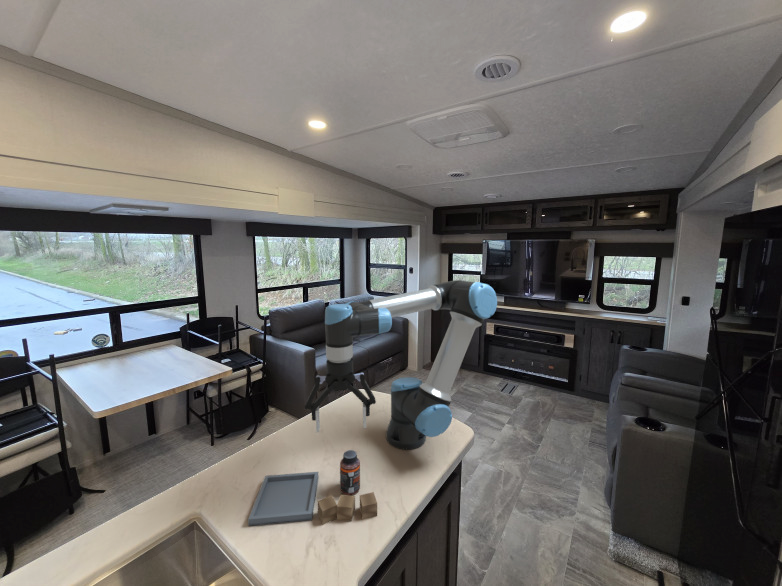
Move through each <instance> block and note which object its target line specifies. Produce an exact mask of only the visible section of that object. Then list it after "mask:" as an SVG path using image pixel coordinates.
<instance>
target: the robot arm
mask: <svg viewBox="0 0 782 586" xmlns="http://www.w3.org/2000/svg"><path fill="white" fill-rule="evenodd" d="M497 306H498V298H497V293H496V291H495V290H494V288H493V287H492V286H490V284H488V283H483V282H479V281H477V282H476V281H467V280H460V279H459V280H457V279H455V280H450V281H445V282H441V283H437V284H431V285H429V286H428V287H427V288H425V289H420V290H416V291H415V290H414V291H408V292H405V293H399V294H394V295H389V296H385V297H379V298H374V299H369V300H364V301H351V300H350V301H347V302H346V303H334V304H330V305H328V306H326V308H325V310H324V327H325V329H324V330H325V356H326V375H320V373H319V374H316V375H315V382H314V385H313V387H312V389H311V391H310V392H309V393H310V394H309V395H308V398H307V399H306V402H305V404H304V409H305V410H311V421H313V422H314V421H315V433H320V428H321V427H320V426H321V425H320V405H321V403H323V401H324V400H325V399H326V397H327V396H328V395H330V394H331V392H332V391H334V392H339V391H347V390H349V391H350V392H351V393H353V395H354V396H355V397H356V398H357V399H358V400H360V401H361V403H362V425H363V426H362V427H363V429H367V417H370V414H371V412H370V410H371V405H375V404H377V403H376V402H377V401H376V400H377V399H376V397H375V395H374V394H373V392H372V390H371V388H370V386H369V384H368V382H367V380H366V379H365V374H364V372H363V371H360V372H359V373H354V359H353V356H354V347H353V345H354V344H353V343H354V341H353V338H354V337H362V336H369V335H380V334H384V333H389V331H390V330H392V329H391V328H392V325H393V319H392V318H397V317H400V316H404V315H405V316H406V315H409V314H414V313H418V312H422V311H427V310H433V311H440V310H449V314H450V317H451V319H450V320H451V321H450V322H449V324H448V327H447V330H446V332H445V335H444V337H443V339H442V342H441V344H440V347H439V350H438V352H437V355H436V357H435V359H434V362H433V364H432V366H431V369H430V371H429V373H428V376H427V378H426V381H425V382H424V383H423V382H422V380H421V379H420V378H417V377H405V376H404V377H400V378H397V379H394V380H393V381H392V382H391V387H390V420H389V424H388V426H387V428H386V437H385V439H386V441H387V442H388V444H389V445H390V446H391V447H394V448H396V449H400V450H414V449H417V448H420V447H422V446H424V444H425V442H426V441H427V437H429V438H435V437H439V436H440V435H441V434H444V433H446V431H447V430H448V429H449V427H450V425H451V424H452V420H453V414H452V412H453V411H452V410H451V408H450V405H451V402H452V398H451V395H450V392H451V389H452V388H453V385H454V383H455V379H456V378H457V375H458V373H459V371H460V368H461V366H462V363H463V360H464V357H466V356H465V354H466V352H467V350H468V348H469V346H470V343H471V340H472V339H473V338H472V337H473V335H474V333H475V331H476V329H477V328H479V327H481V326H482V325H483V323H484V320H486V319H489V318H491V317H492V316H493V315H494V314H495V312H496V310H497ZM355 379H356V380H357V381H358V382H360V384H361V386H362V388H363V389H364V391H365V393H366V395H367V396H368V397H367V396H366V395H365V394H364V393H363V392H362V391H361V390H360V389H359V388H358V387H357V385H355V383H354V381H355ZM324 381H325V383H326V384H327V385H326V387H325V388H324V389H323V390H322V392H321V393H320V394H319V395H318V397H317V398H316V399H315V400H314V398H315V396H316V394H317V392H318V390H319V387H320V385H323V383H324ZM313 400H314V401H313Z"/></svg>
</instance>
